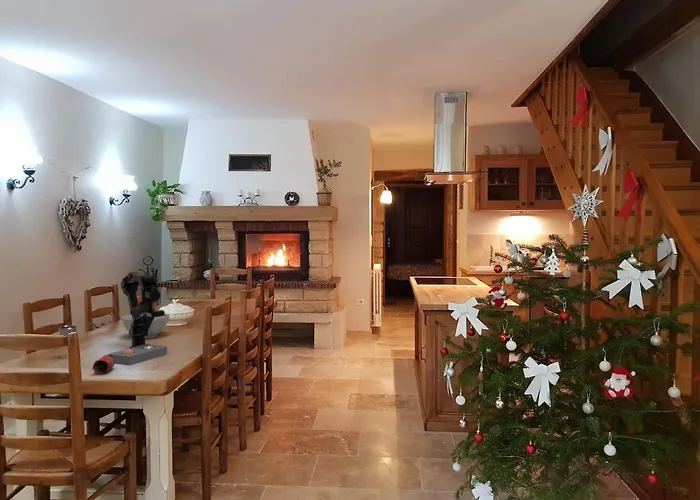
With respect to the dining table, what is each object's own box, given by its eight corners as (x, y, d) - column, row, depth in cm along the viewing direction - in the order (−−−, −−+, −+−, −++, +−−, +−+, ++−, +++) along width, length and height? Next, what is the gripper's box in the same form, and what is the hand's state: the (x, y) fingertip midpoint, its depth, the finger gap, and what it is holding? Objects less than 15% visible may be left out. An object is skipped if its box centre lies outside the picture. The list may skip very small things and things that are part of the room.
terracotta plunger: (121, 358, 259) (121, 350, 259) (128, 356, 263) (128, 348, 263) (128, 359, 257) (127, 351, 257) (135, 357, 261) (135, 349, 261)
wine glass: (80, 356, 270) (80, 326, 269) (65, 359, 263) (64, 329, 262) (71, 354, 274) (70, 325, 273) (56, 357, 267) (55, 327, 266)
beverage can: (117, 367, 248) (116, 353, 248) (108, 374, 236) (108, 359, 236) (100, 368, 247) (100, 353, 247) (91, 375, 236) (91, 360, 235)
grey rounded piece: (142, 354, 271) (141, 346, 271) (148, 352, 275) (148, 345, 275) (148, 355, 269) (148, 347, 269) (155, 353, 273) (155, 345, 273)
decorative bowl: (138, 343, 300) (137, 321, 299) (112, 337, 316) (112, 316, 316) (179, 335, 321) (178, 315, 321) (153, 330, 338) (153, 311, 337)
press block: (108, 361, 258) (108, 353, 258) (146, 351, 280) (146, 343, 280) (129, 365, 252) (129, 356, 252) (167, 354, 274) (166, 346, 274)
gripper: (121, 300, 275) (122, 330, 276) (148, 302, 267) (149, 333, 268) (138, 297, 285) (139, 326, 286) (165, 299, 277) (165, 329, 278)
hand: (147, 328), depth 279 cm, fingers closed
